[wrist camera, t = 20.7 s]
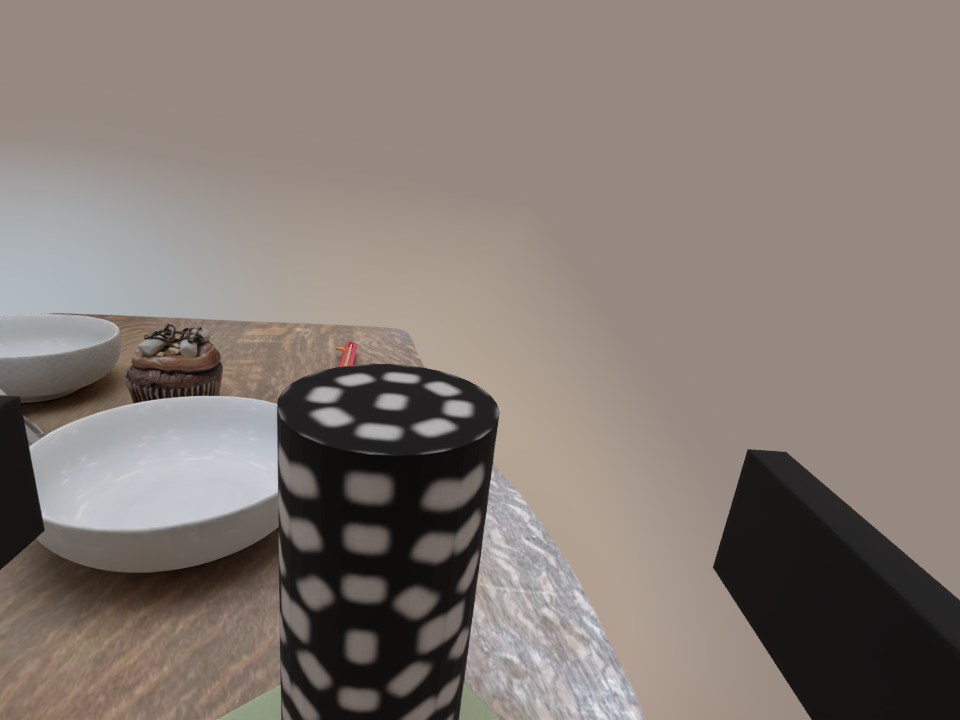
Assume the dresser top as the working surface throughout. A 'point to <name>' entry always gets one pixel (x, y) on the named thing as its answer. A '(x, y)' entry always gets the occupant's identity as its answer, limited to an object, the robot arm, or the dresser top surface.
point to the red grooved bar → (348, 354)
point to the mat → (265, 710)
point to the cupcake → (174, 366)
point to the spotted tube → (380, 539)
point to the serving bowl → (159, 483)
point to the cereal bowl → (54, 354)
